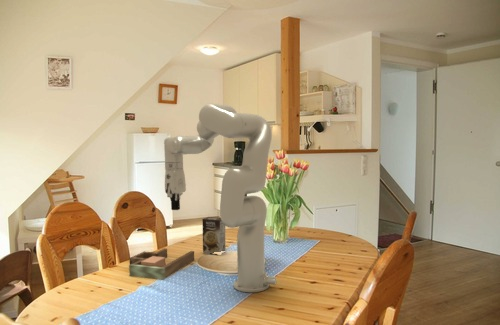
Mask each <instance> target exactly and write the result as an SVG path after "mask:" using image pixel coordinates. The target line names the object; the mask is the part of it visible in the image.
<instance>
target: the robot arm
mask: <svg viewBox="0 0 500 325" xmlns="http://www.w3.org/2000/svg"><path fill="white" fill-rule="evenodd" d="M198 120H199V121H198V122H197V123H196V131H197V133H198V135H177V136H174V137H172V136H171V137H166V138H165V139H164V141H163V144H164V147H163V148H164V149H163V150H164V170H165V173H164V192H165V193H166V196H167V198H169V199H170V205H171V208H170V209H171V211H179V210H180V209H181V204H180V203H181V196H182V195H183V193H185V192H186V191H187V187H186V186H187V184H186V176H185V171H184V155H199V154H201V153H204V152H205V151H206V150H208V149H210V148H211V147H212V146H213V144H214V142H215V138H217V137H218V136H222V137H225V138H228V139H248V140H249V141H248V142H247V144H246V146H245V148H244V150H243V153H242V154H243V157H242V163H241V165H240V166H239V165H238V166H231V167H230V168H229V169H227V170H226V172H225V173H224V175H223V177H222V181H221V192H220V202H219V215H220V216H219V218H221V220H222V222H223V224H224V225H225V227H227V228H229V229H230V228H231V229H234V228H238V230H237V235H236V245H237V246H236V252H237V255H236V256H237V262H236V263H237V279H236V280H234V281H233V288H234V289H235V290H237V291H239V292H242V293H258V292H263V291H265V290H267V289H268V288H269V287H270V285H272V286H273V285H274V286H275V285H277V282H278V281H277V278H276V277H275V276H269V275H268V271H266V269H265V266H266V265H265V264H266V263H265V261H266V260H265V257H266V256H265V253H266V252H265V228H266V220H267V213H268V209H267V208H268V207H267V204H266V202H265V201H264V199H263V198H262V197H260V196H257V195H249V194H255V193H260V192H261V191H263V190H264V189H265V186H266V183H267V182H266V181H267V173H268V164H269V153H270V148H271V142H272V129H271V126H270V124H269V121H268V120H266V118H264V117H262V116H260V115H257V114H253V113H244V112H243V113H241V112H237V111H236V109H235V108H234V107H232V106H231V105H228V104H220V103H207V104H205V105H203V106H202V107H201V108H200V111H199V113H198ZM245 195H246V196H245Z"/></svg>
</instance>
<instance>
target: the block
mask: <svg viewBox="0 0 500 325" xmlns="http://www.w3.org/2000/svg"><path fill="white" fill-rule="evenodd" d="M166 262H167V261H166V259H165V257H156V256H152V257H150V258H148V259H146V260H144V261H141V265H145V266H154V267H163V266H165V265H167V263H166Z"/></svg>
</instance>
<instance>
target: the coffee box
mask: <svg viewBox="0 0 500 325" xmlns="http://www.w3.org/2000/svg"><path fill="white" fill-rule="evenodd" d="M221 251H226V226H225V225H224V224H223V222H222V220H221V217H216V216H207V217H203V218H202V254H207V255H210V254H209V253H214V252H221ZM226 252H227V251H226Z"/></svg>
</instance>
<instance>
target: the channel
mask: <svg viewBox="0 0 500 325" xmlns="http://www.w3.org/2000/svg"><path fill="white" fill-rule="evenodd" d="M152 256H156V257H165V260H167V258H168V248H162V249H161V250H159V251H156V252H153V251H146V250H145V251H142V252H139V253H137V254H135V255H133V256H131V257H129V265H128V270H129V272H128V273H129V276H130V277H140V278H145V279H146V278H148V279H155V280H157V279H158V280H165V279H167V278H168V277H170V276H171V275H174V274H175V273H177V272H178V271H179V270H181V269H182V268H184V267H186V266H189V264H190V263H193V262H194V261H195V250H190V251H188V252H187V253H185V254H183V255H181V256H180V257H178V258H176V259H173V261H170V262H168V263H166V265H165V266H163V267H154V266H145V265H141V261H144V260H146V259H148V258H150V257H152Z"/></svg>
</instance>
